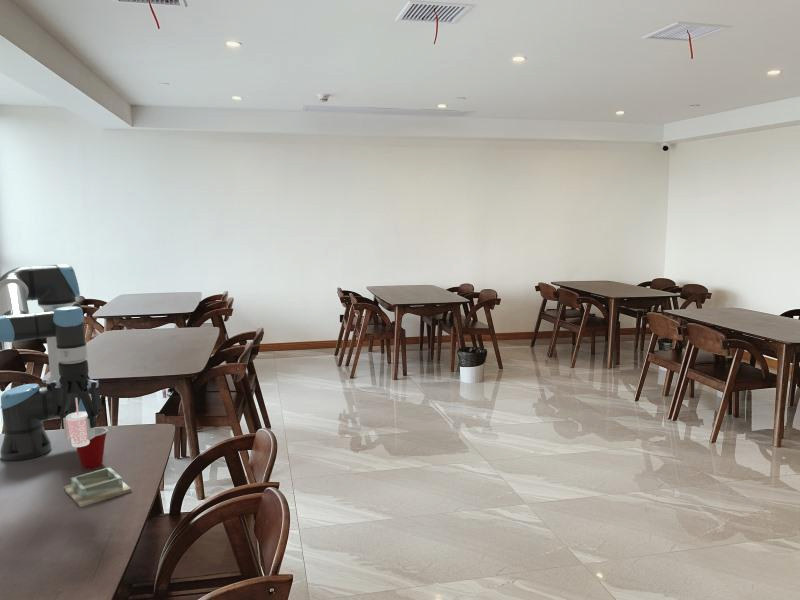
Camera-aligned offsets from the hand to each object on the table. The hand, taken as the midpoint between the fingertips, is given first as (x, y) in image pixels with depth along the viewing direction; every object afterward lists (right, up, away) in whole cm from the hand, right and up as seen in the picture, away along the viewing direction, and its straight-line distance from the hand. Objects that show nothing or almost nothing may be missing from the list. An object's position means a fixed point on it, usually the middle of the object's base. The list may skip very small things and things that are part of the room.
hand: (80, 437), depth 179 cm
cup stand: (+3, -17, +4) cm, 17 cm away
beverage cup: (0, -2, 0) cm, 2 cm away
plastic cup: (-8, -14, +23) cm, 28 cm away
